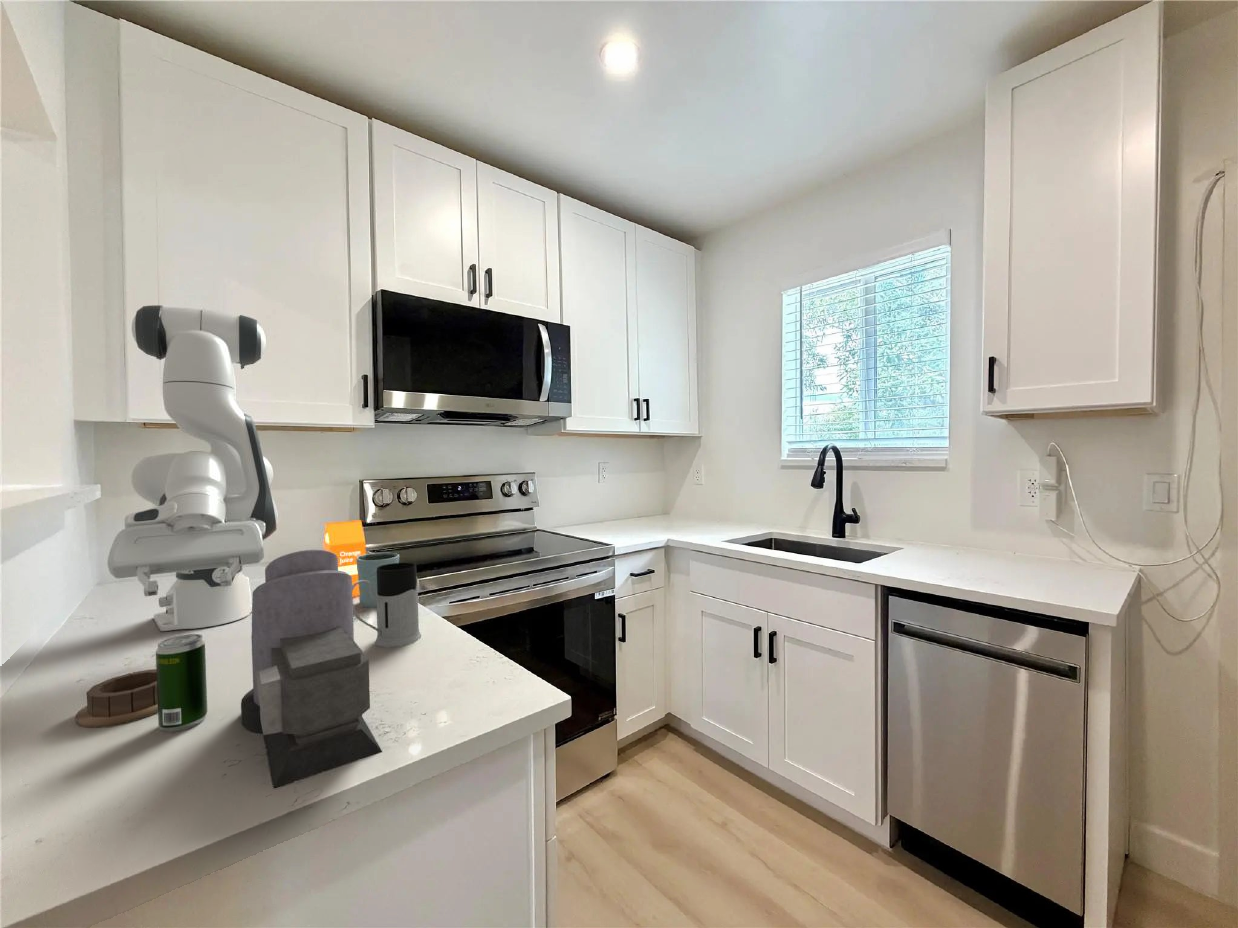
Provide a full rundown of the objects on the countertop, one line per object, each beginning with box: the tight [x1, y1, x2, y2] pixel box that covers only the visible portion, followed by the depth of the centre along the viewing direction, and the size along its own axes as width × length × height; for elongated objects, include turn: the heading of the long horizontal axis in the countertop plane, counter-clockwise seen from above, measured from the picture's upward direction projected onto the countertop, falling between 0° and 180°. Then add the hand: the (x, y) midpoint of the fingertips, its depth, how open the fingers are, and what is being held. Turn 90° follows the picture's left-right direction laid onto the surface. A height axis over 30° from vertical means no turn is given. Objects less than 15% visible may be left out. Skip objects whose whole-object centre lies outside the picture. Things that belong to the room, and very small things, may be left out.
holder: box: [352, 562, 422, 648], centre depth 105 cm, size 9×14×15 cm, turn 146°
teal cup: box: [356, 551, 400, 608], centre depth 134 cm, size 10×10×12 cm
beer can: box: [155, 633, 208, 733], centre depth 74 cm, size 5×5×12 cm
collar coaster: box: [75, 668, 158, 728], centre depth 80 cm, size 12×12×4 cm
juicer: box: [240, 549, 383, 790], centre depth 74 cm, size 30×16×24 cm, turn 38°
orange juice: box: [323, 519, 367, 598], centre depth 142 cm, size 8×9×20 cm
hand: (189, 588), depth 84 cm, fingers open, 8 cm apart
